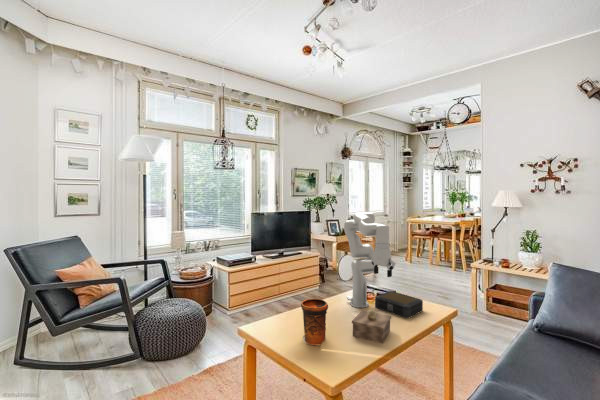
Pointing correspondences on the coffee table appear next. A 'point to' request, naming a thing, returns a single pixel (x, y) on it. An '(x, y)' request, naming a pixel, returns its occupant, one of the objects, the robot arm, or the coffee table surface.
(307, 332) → the vessel
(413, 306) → the cash box
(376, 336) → the storage box
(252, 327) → the coffee table surface
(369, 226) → the robot arm
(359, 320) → the lid
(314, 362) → the coffee table surface
